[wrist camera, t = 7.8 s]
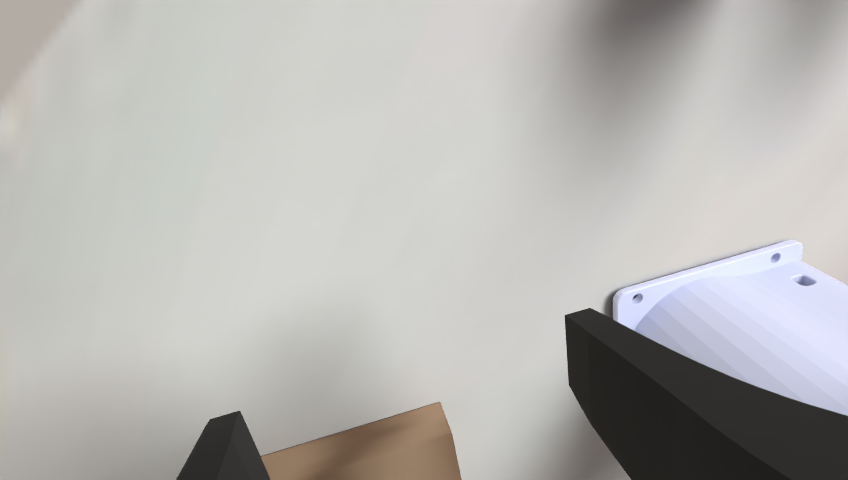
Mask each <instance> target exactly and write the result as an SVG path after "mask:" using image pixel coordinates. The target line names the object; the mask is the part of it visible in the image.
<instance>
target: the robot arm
mask: <svg viewBox="0 0 848 480" xmlns="http://www.w3.org/2000/svg"><path fill="white" fill-rule="evenodd" d="M802 252H803V245H802V244H801V243H799V242H797V241H795V240H788V241H785V242H781V243H778V244H774V245H771V246H767V247H764V248H760V249H757V250H754V251H750V252H747V253H743V254H740V255H736V256H733V257H730V258H726V259H723V260H719V261H716V262H712V263H709V264H705V265H702V266H699V267H695V268H692V269H688V270H685V271H681V272H678V273H674V274H671V275H668V276H664V277H661V278H657V279H654V280H650V281H647V282H644V283H640V284H637V285H633V286H630V287H626V288H623V289H621V290H619V291H618V292H617V293H616V294H615V295H614V298H613V319H611V318H609V317H607V316H605V315H603V314H601V313H599V312H597V311H595V310H593V309H591V308H588V309H585V310H581V311H578V312H575V313H571V314H568V315H565V327H566V344H567V361H568V378H569V386H570V388H571V389H572V391H573V393H574V395H575V397H576V399H577V401H578V402H579V404H580V406H581V408H582V409H583V411H584V413H585V415H586V416H587V418H588V420H589V422H590V423H591V425H592V426H593V428H594V429H595V430H596V432H597V433H598V435H599V436H600V437H601V439H602V440H603V442H604V443H605V444H606V446H607V447H608V448H609V450H610V451H611V452H612V454H613V455H614V457H615V458H616V459H617V461H618V462H619V463H620V465H621V466H622V467H623V469H624V470H625V471H626V473H627V474H628V475H629V477H630V478H631V480H848V285H846V284H844V283H842V282H840V281H838V280H836V279H834V278H833V277H831V276H829V275H827V274H825V273H823V272H821V271H819V270H817V269H816V268H814V267H812V266H810V265H808V264H806V263H804V262H802V261H801V258H802ZM636 294H637V296H636V297H635V298H634V299H633V297H634V296H635V295H636ZM176 480H270V477H269V475H268V472H267V470H266V468H265V466H264V463H263V461H262V459H261V457H260V454H259V452H258V450H257V448H256V445H255V443H254V441H253V439H252V436H251V434H250V432H249V430H248V428H247V425H246V423H245V421H244V419H243V416H242V414H241V412H240V411H237V412H234V413H230V414H227V415H223V416H220V417H217V418H213V419H210V420H209V422H208V424H207V425H206V427H205V429H204V430H203V432H202V434H201V436H200V438H199V439H198V441H197V443H196V445H195V447H194V449H193V450H192V452H191V454H190V456H189V458H188V459H187V461H186V463H185V465H184V467H183V468H182V470H181V472H180V474H179V476H178V477H177V479H176Z"/></svg>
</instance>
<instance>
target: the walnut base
mask: <svg viewBox="0 0 848 480" xmlns="http://www.w3.org/2000/svg"><path fill="white" fill-rule="evenodd" d="M261 459H262V461H263V463H264V466H265V468H266V470H267V472H268V475H269V477H270V480H461V475H460V470H459V466H458V461H457V456H456V451H455V446H454V441H453V436H452V433H451V430H450V427H449V425H448V422H447V419H446V417H445V414H444V411H443V409H442V406H441V403H440V402H438V403H435V404H432V405H428V406H425V407H422V408H419V409H415V410H412V411H409V412H405V413H402V414H399V415H396V416H392V417H389V418H386V419H383V420H379V421H376V422H373V423H370V424H366V425H363V426H360V427H356V428H353V429H350V430H347V431H343V432H340V433H337V434H334V435H330V436H327V437H324V438H321V439H317V440H314V441H311V442H307V443H304V444H301V445H298V446H294V447H291V448H288V449H285V450H281V451H278V452H275V453H271V454H268V455H265V456H262V457H261Z"/></svg>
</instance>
